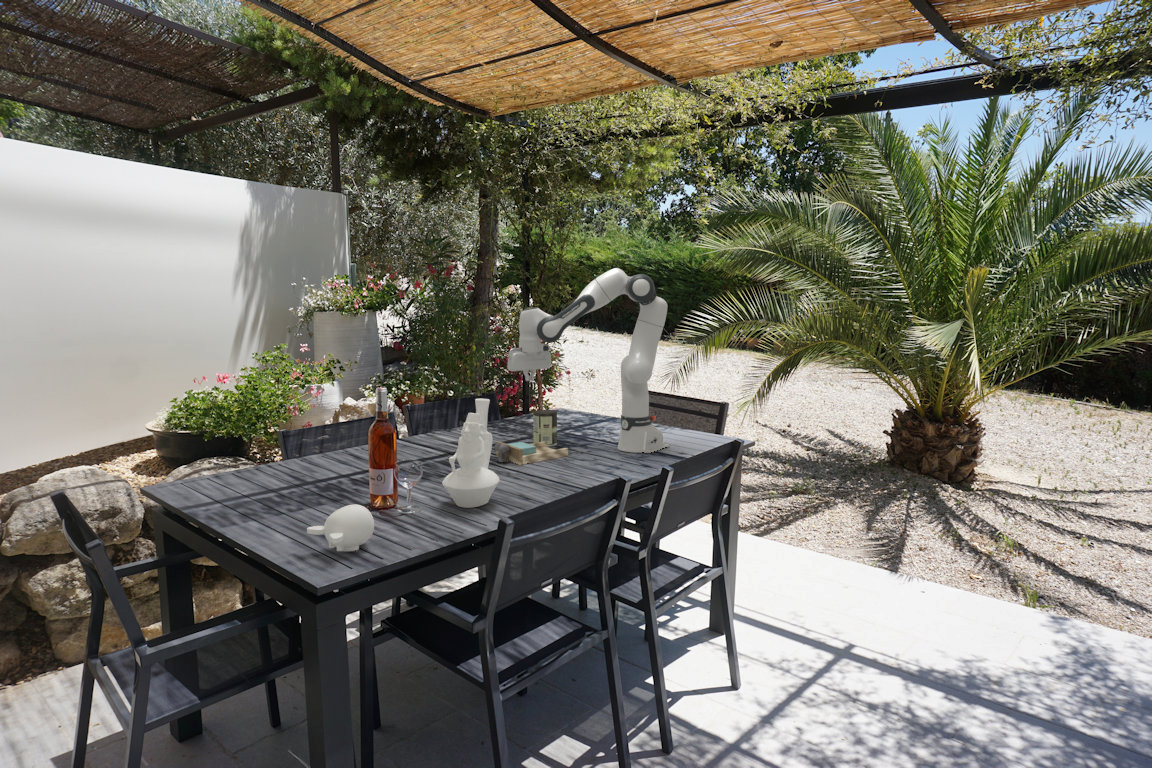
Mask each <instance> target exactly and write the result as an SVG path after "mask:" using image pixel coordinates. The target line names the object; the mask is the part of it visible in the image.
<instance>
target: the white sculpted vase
mask: <svg viewBox="0 0 1152 768" xmlns="http://www.w3.org/2000/svg"><path fill="white" fill-rule="evenodd" d="M474 400H475V401H474V402H475V403H474V404H475V413H474V412H467V413H468V414H467V416H466V419H465V422H463V424H462V425H463V426H462V429H461V430H460V434H461V436H460V437H459V438H458V441H457V443H458V444H457V449H456V451H455V453H454V455H453V456H450V457H449V458H448V462H449V464H450V466H451V470H452V471H451V472H450V473H449V474H447V476H446V477H444V479H443V480H442V482H441V484H442V485H443V487H444V488H445V490H446V492H448V494H449V496H450V497H451V498H452V500H453V502H454V503H455V505H456V507H457V506H458V507H460V508H466V509H468V508H469V509H471V508H477V507H482V506H485V505H486V504H488V503H489V501H490V498H491V497H492V494H493V493H494V492H495V491H494V490H496V487H497V486H498V484H499V483H500V477H499V476H498V475H497V473H495V472H494V471H493V470H490V469H489V466H490V465H489V464H490V459H491V454H492V447H493V434H492V433H491V432H490V431H488V430H487V429H488V418H489V417H488V416H489V415H488V413H489V407H490V406H489V405H490V403H491V400H490V399H489V398H482V397H481V398H475V399H474ZM456 461H457V464H459V467H458V468H456V465H455V462H456Z"/></svg>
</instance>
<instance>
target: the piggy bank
mask: <svg viewBox="0 0 1152 768" xmlns="http://www.w3.org/2000/svg"><path fill="white" fill-rule="evenodd" d="M374 531H375V521H374V517H373V515H372V512H370V510H369V509H368V508H367V507H366V506H364V505H361V504H348V505H345V506H342V507H341V508H338V509H336V510H335V511H333V512H332V513H331V514H330V515H329V516H328V517H327V518H326V520H325V522H324V525H313V526H309V527H307V528H306V533H307V534H309V535H315V536H319V535H324V537H325V539H326V541H327V542H328V548H329V549H334V548H336V552H355V550H356V551H358V550H359V549H360V545H363V544H365V543H366V542H367V541H369V540H370V538H371V537H372V535H373V534H374Z"/></svg>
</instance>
